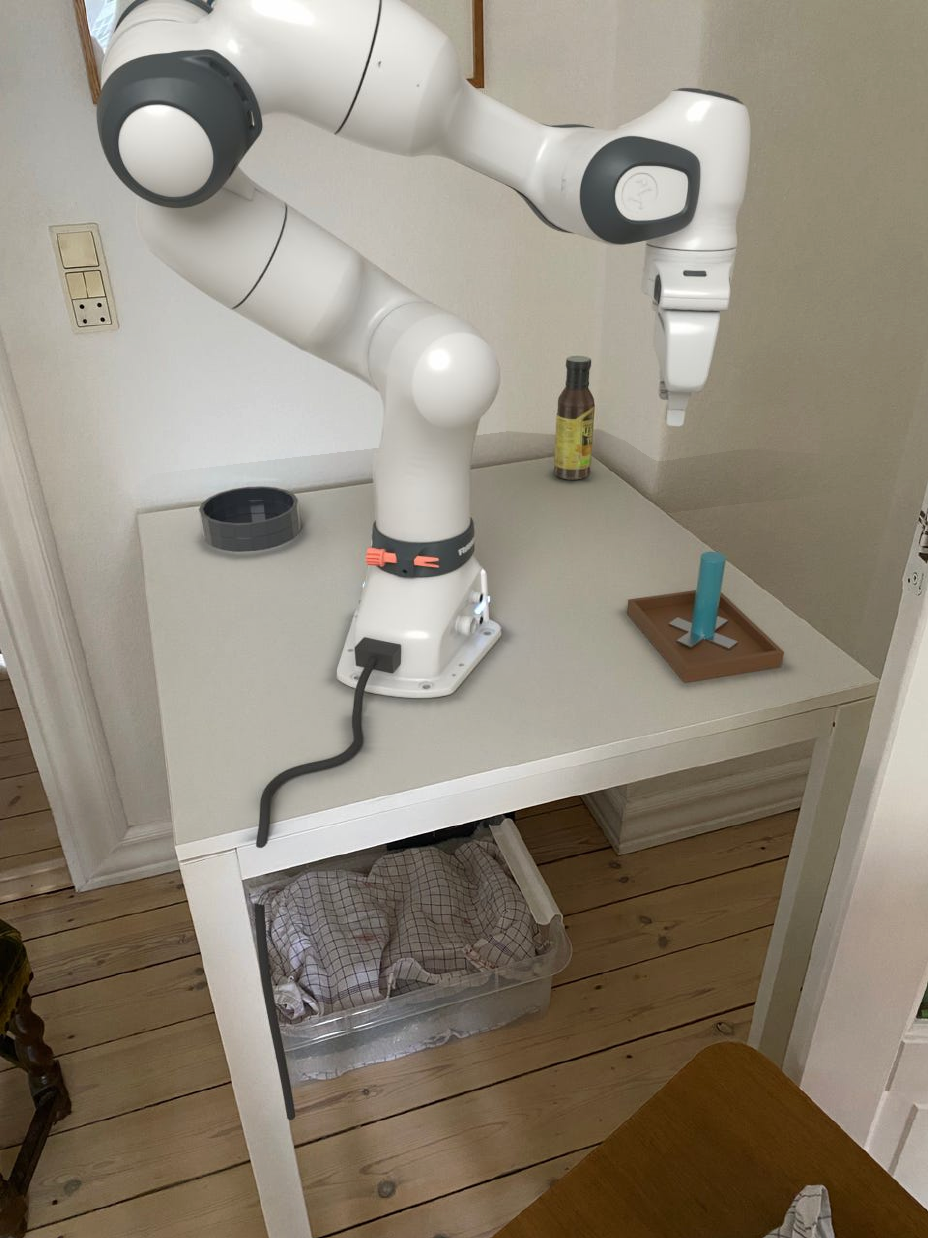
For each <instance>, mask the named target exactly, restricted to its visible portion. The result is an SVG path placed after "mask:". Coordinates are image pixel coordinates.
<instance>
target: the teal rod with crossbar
mask: <svg viewBox="0 0 928 1238" xmlns="http://www.w3.org/2000/svg"><path fill="white" fill-rule="evenodd" d="M726 560H727V558H726V555H725V554H724V553H721V552H718V551H705V552H702V553H701V554H700V559H699V566H698V574H697V582H696V588H695V590H696V596H695V603H694V611H693V618H692V623H690V622H688V621H685V620H683V619H680V618H678V617H677V618H676V619H674V620H673V621H671V622H670V623H668V625H669V626H672V627H674V628H676V629H679V630H681V631H684V632H686V633H687V634H685V635H684V636H682V637H681V638H679V639H678V640H677V641H676V642H677V643H679V644H681V645H684V646H686V647H688V648H692V647H694V646H695V645H696V644H698V643H699V642H701V641H702V640H706V641H708V642H710V643H713V644H715V645H718V646H720V647H723V648H725V649H727V650H730V649H731V648H733V647H734V646H735V645H737V644H738V641H735V640H733V639H730V638H728V637H725V636H723V635H720V634H718V633H715V631H716V630H718V629H719V628H721V627H722V626H723V625H725V624H726V623H728V620H727V619H724V618H721V617H719V616H717V614H718V608H719V601H720V594H721V592H722V586H723V580H724V574H725V568H726Z"/></svg>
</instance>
